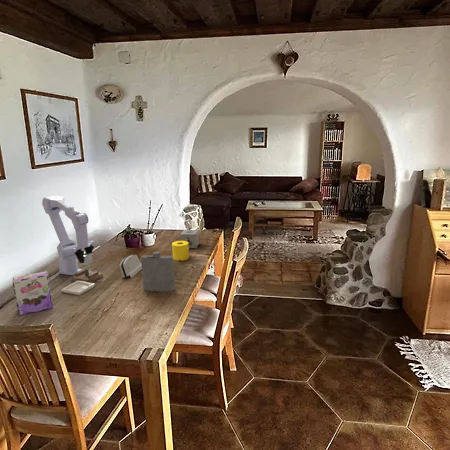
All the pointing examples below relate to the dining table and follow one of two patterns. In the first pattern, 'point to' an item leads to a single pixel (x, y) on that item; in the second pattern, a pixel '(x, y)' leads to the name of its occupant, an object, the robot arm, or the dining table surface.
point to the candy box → (32, 293)
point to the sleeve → (86, 258)
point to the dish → (78, 287)
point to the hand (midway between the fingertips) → (85, 260)
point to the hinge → (130, 266)
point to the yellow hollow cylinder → (180, 250)
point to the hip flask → (157, 272)
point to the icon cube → (190, 238)
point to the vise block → (87, 276)
